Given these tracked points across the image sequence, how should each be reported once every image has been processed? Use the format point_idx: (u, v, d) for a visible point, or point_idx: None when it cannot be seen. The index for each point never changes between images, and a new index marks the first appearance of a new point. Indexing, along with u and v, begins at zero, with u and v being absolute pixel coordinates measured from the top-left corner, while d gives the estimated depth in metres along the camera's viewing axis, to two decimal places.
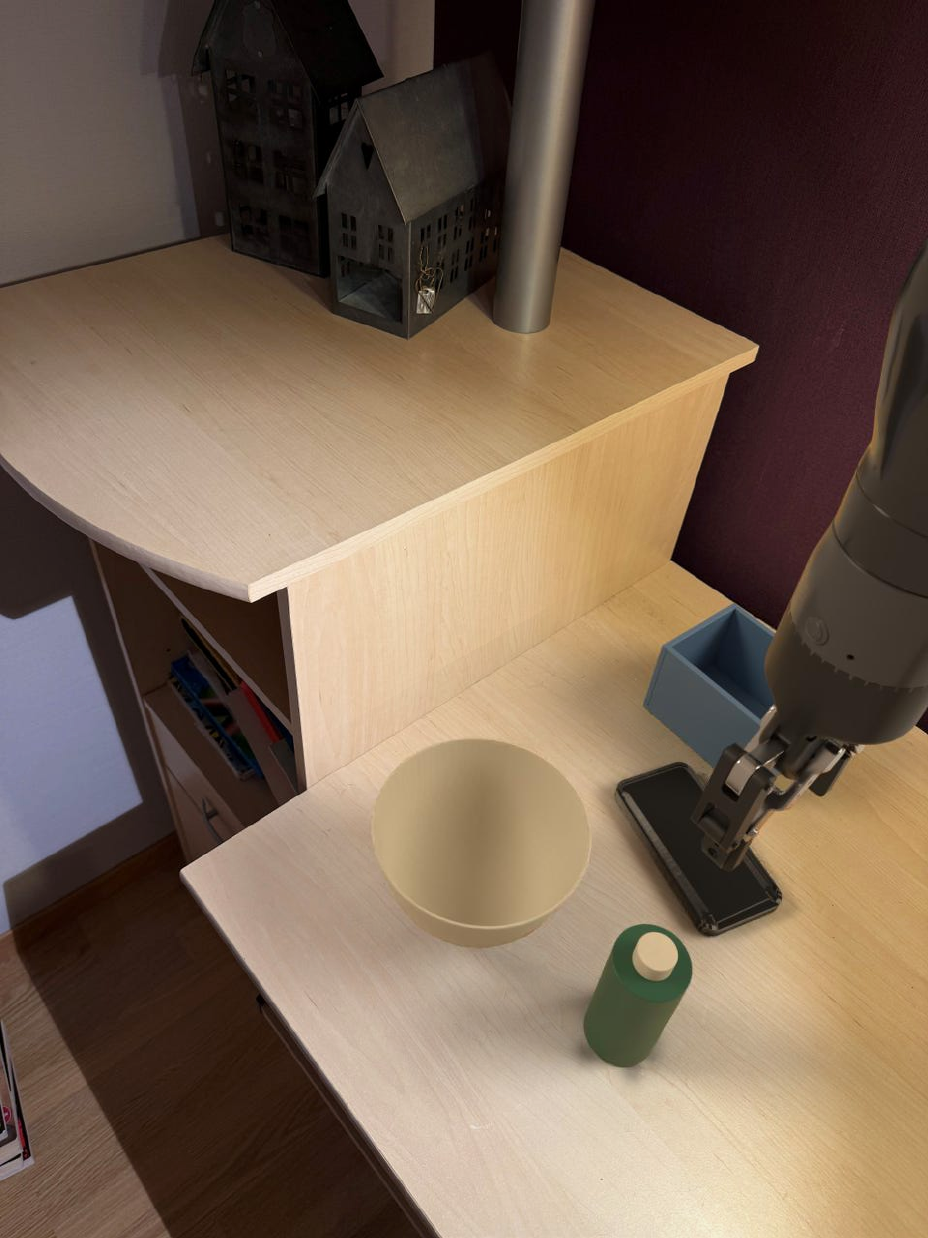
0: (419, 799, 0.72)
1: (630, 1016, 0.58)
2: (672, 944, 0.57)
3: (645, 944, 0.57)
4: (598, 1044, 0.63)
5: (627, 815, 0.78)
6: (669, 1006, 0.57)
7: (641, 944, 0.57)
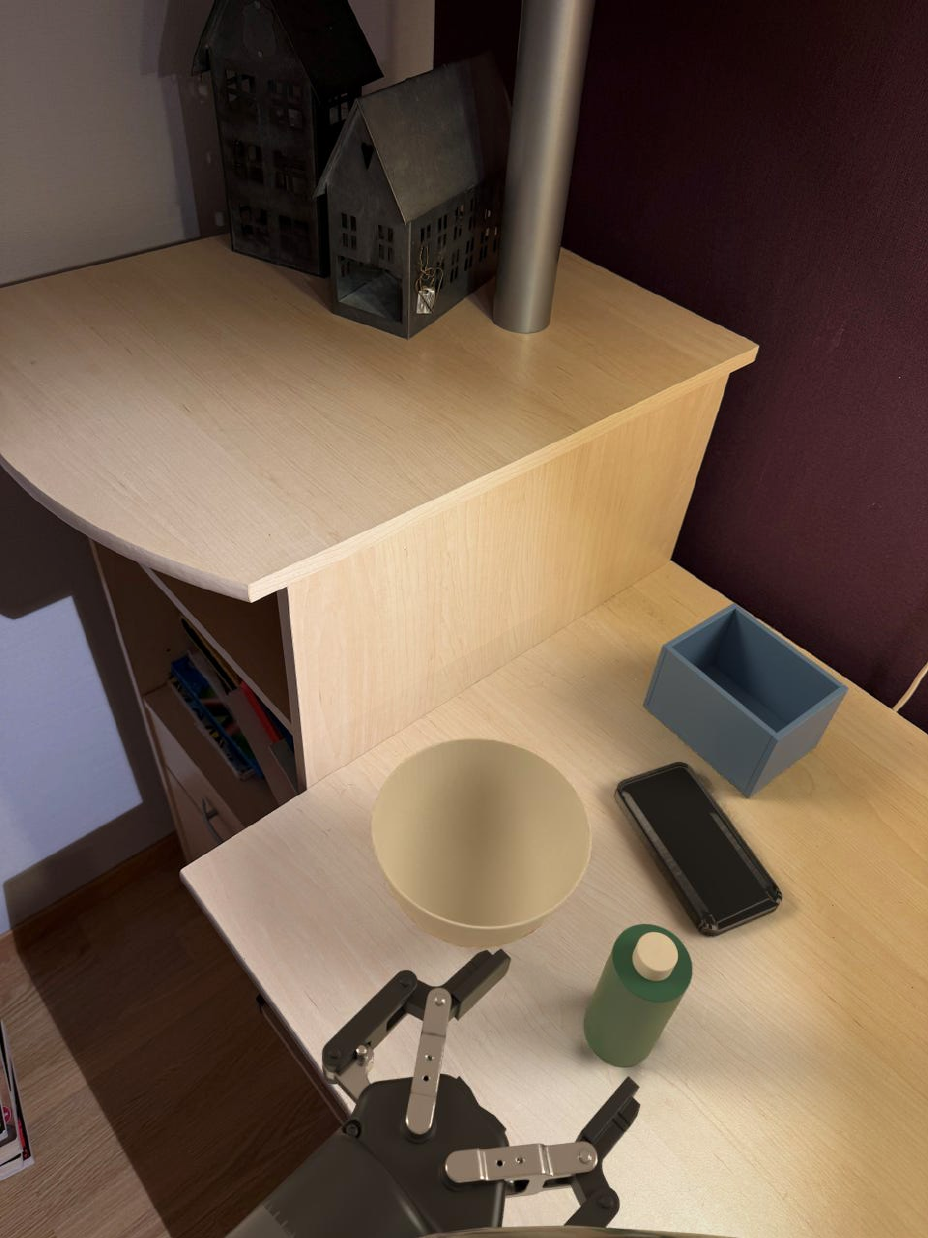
0: (419, 799, 0.72)
1: (630, 1016, 0.58)
2: (672, 944, 0.57)
3: (645, 944, 0.57)
4: (598, 1044, 0.63)
5: (627, 815, 0.78)
6: (669, 1006, 0.57)
7: (641, 944, 0.57)
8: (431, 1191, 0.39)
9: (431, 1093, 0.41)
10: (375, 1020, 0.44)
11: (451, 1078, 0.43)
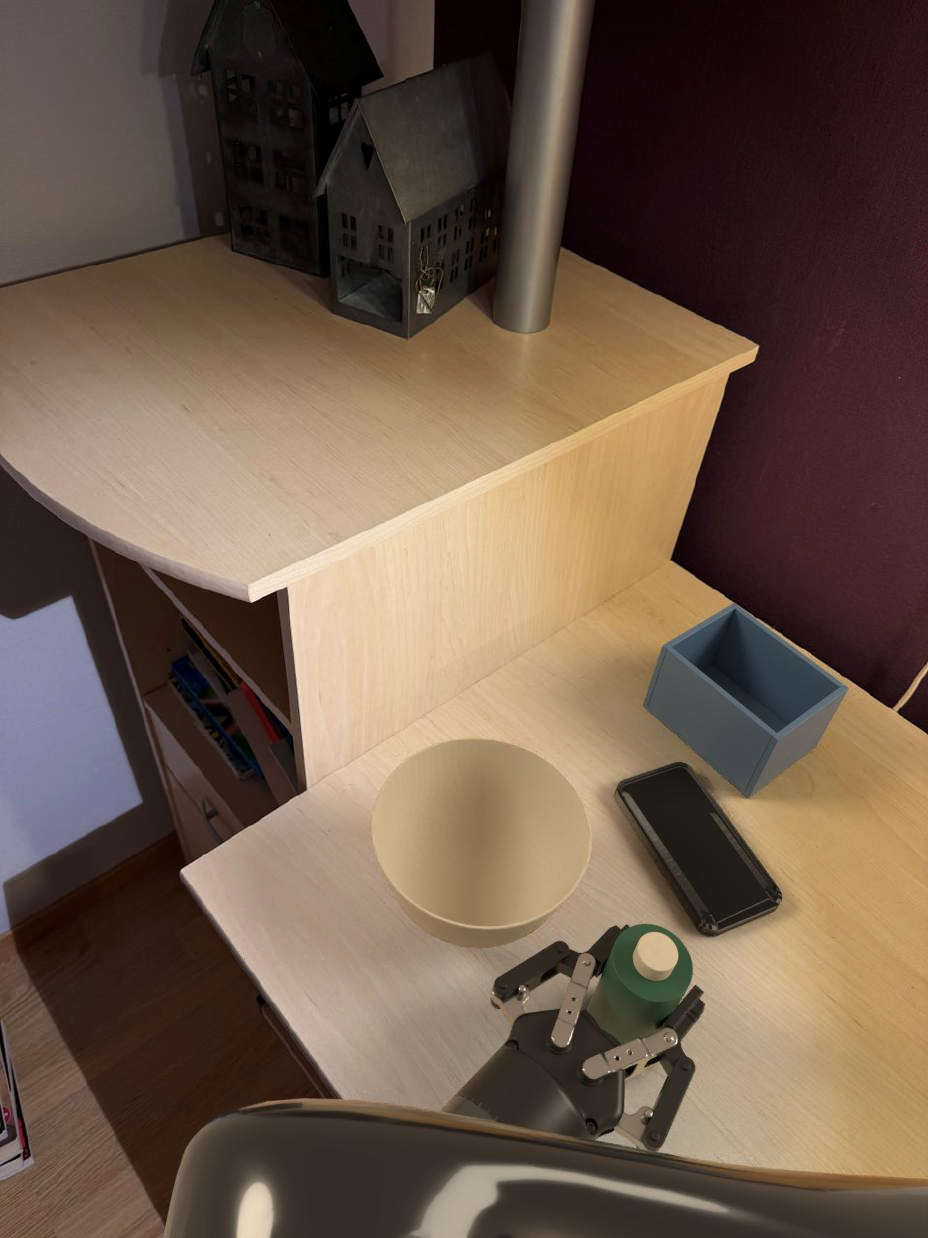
0: (419, 799, 0.72)
1: (631, 1016, 0.58)
2: (672, 944, 0.57)
3: (645, 944, 0.57)
4: None
5: (627, 815, 0.78)
6: (669, 1006, 0.57)
7: (641, 944, 0.57)
8: (573, 1086, 0.55)
9: (572, 1023, 0.57)
10: (534, 970, 0.60)
11: None
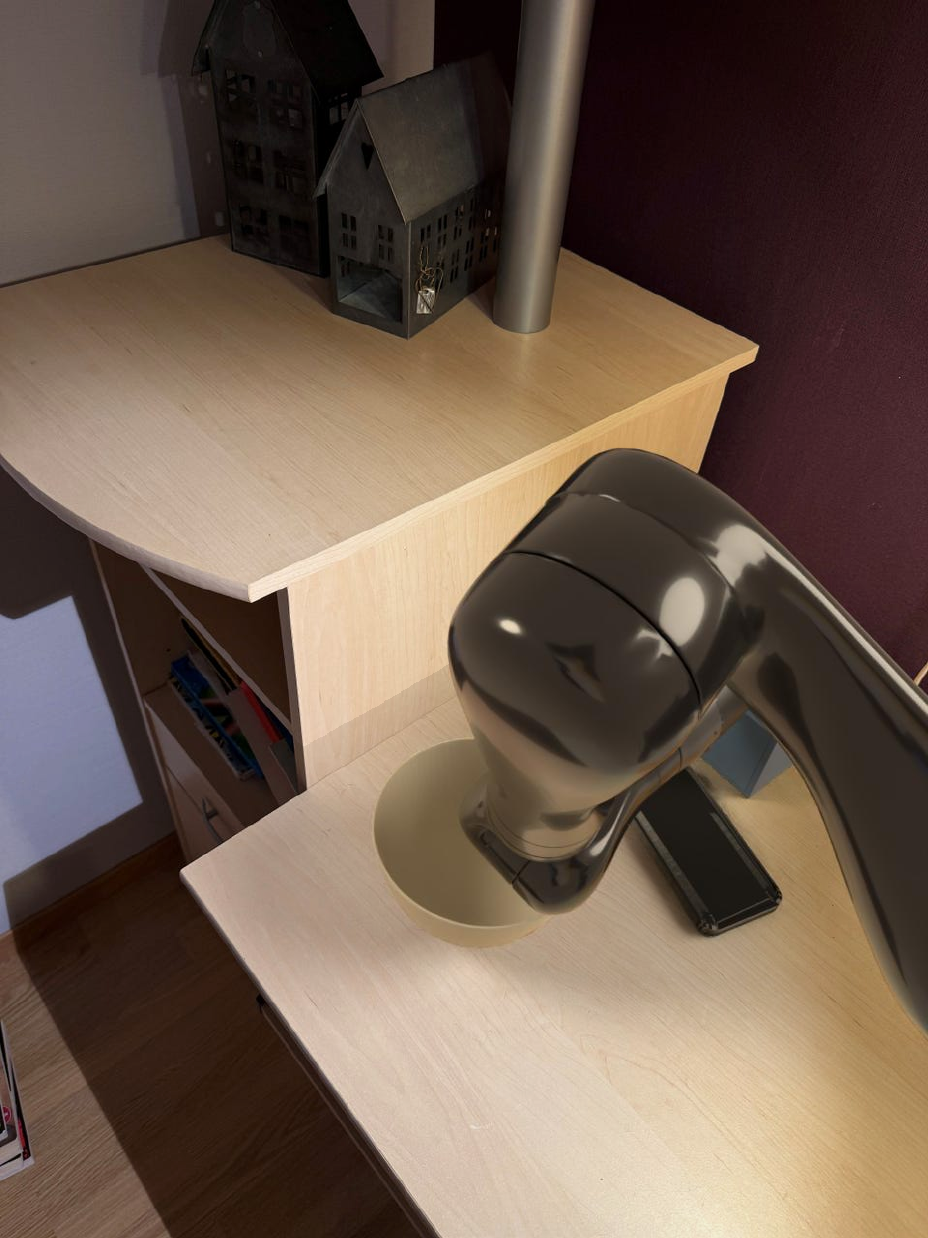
0: (419, 798, 0.72)
1: None
2: None
3: None
4: None
5: None
6: None
7: None
8: None
9: None
10: None
11: None
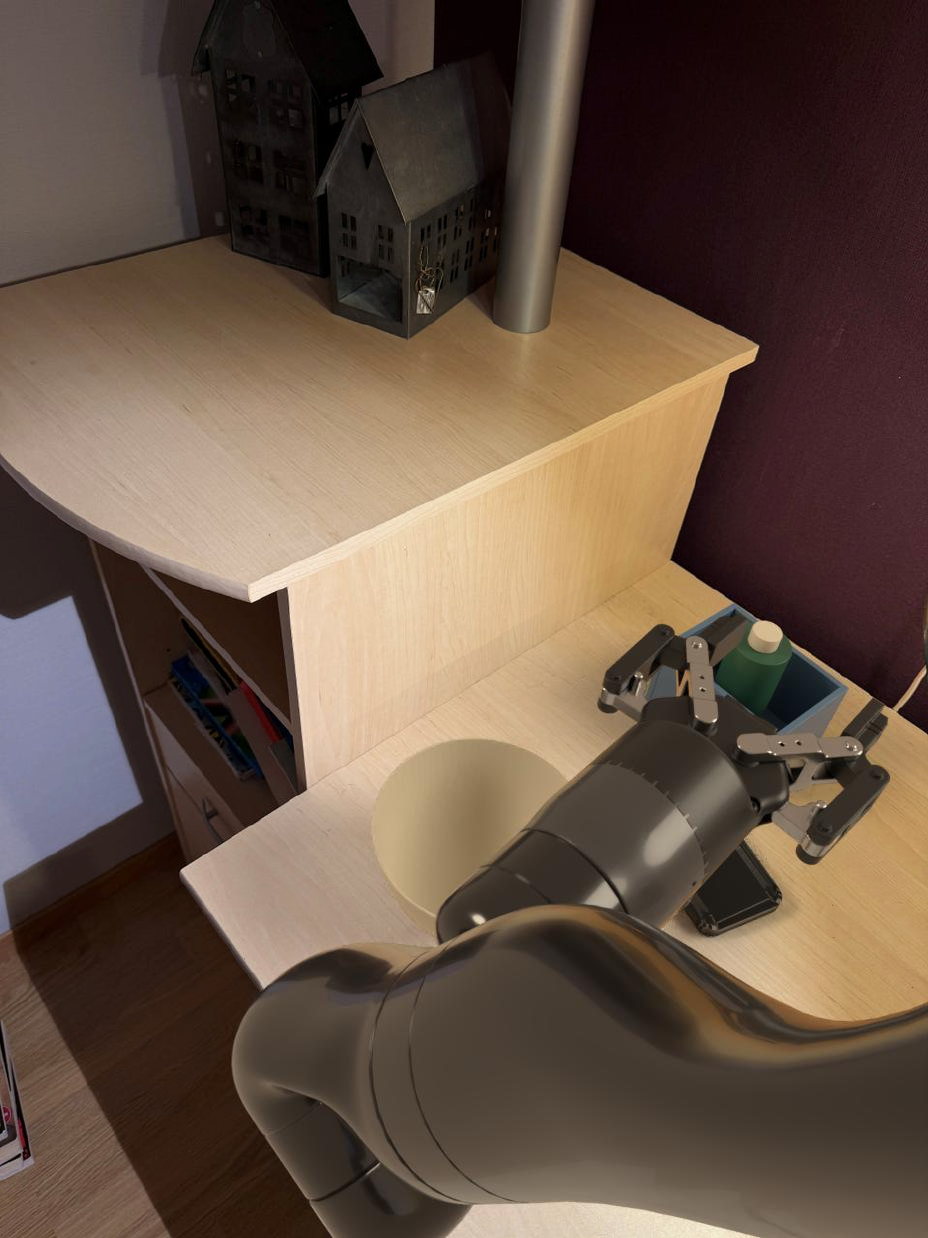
0: (419, 799, 0.72)
1: (746, 684, 0.79)
2: (778, 627, 0.78)
3: (758, 627, 0.78)
4: None
5: None
6: (776, 671, 0.78)
7: (755, 627, 0.78)
8: None
9: (710, 699, 0.47)
10: (645, 655, 0.49)
11: None
